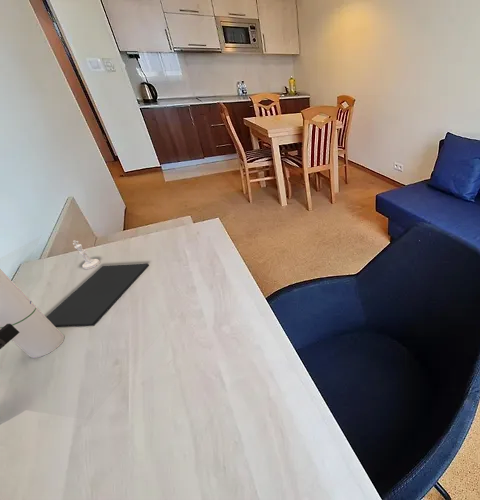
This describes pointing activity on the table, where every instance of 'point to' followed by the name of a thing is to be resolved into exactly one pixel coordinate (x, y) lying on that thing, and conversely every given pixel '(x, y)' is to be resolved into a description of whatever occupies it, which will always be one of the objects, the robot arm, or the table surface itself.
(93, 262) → the chess piece
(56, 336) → the cylindrical container
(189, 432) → the table surface
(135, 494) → the table surface
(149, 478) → the table surface
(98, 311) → the mat
